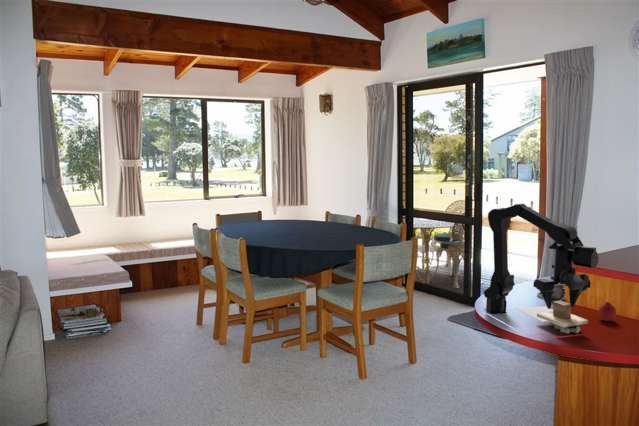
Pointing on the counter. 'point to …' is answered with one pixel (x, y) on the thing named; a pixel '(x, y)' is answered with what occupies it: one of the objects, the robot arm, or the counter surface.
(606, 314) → the onion
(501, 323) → the counter surface
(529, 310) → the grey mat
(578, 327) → the grey jagged ring sculpture
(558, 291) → the ceramic mug
